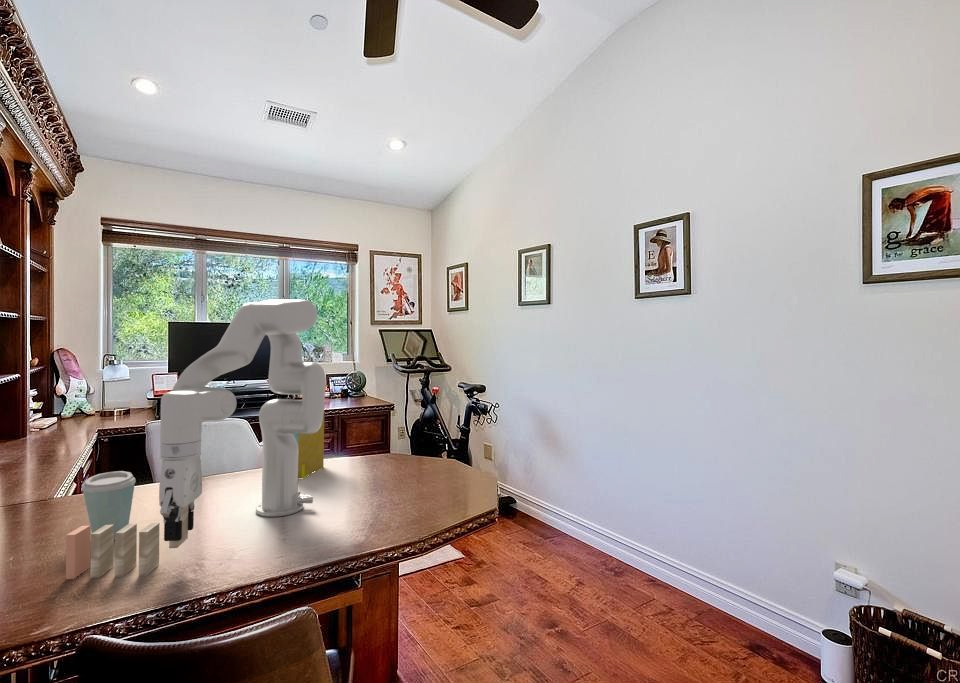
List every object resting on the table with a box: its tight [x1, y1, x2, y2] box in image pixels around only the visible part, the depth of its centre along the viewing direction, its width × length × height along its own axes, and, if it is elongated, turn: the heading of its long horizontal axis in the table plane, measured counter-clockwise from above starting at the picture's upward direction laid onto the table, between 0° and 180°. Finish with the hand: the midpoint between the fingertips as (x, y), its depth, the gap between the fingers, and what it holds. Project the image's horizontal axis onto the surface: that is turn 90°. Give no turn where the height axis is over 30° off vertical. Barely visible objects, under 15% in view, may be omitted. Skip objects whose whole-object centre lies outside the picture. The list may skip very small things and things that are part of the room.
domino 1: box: [65, 525, 92, 580], centre depth 103 cm, size 2×5×9 cm, turn 9°
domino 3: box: [114, 523, 138, 578], centre depth 104 cm, size 2×5×9 cm, turn 8°
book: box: [292, 412, 325, 479], centre depth 181 cm, size 17×7×25 cm, turn 168°
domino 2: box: [89, 525, 115, 579], centre depth 103 cm, size 2×5×9 cm, turn 9°
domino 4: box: [138, 522, 160, 577], centre depth 105 cm, size 2×5×9 cm, turn 8°
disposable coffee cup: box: [81, 470, 137, 541], centre depth 121 cm, size 11×11×15 cm
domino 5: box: [168, 503, 189, 549], centre depth 105 cm, size 2×5×9 cm, turn 8°
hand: (179, 534), depth 105 cm, fingers closed on domino 5, 4 cm apart
